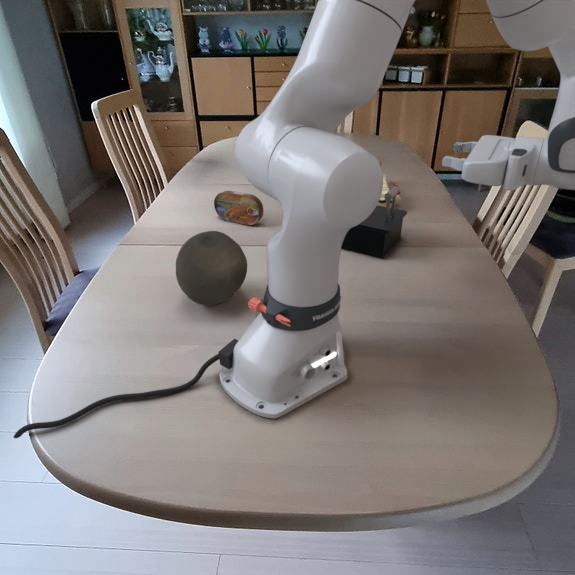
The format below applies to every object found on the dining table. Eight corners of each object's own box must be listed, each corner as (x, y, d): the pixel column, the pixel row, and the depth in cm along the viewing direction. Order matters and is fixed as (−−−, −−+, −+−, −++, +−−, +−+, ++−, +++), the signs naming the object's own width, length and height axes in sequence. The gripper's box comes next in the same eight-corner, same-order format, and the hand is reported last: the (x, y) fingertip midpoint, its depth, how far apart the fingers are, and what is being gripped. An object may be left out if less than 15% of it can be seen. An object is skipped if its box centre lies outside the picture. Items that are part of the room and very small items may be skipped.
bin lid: (406, 213, 111) (411, 182, 107) (388, 233, 103) (392, 200, 98) (346, 201, 119) (348, 172, 114) (324, 219, 110) (325, 188, 105)
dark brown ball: (184, 326, 87) (171, 259, 79) (179, 288, 98) (167, 225, 90) (255, 313, 90) (250, 247, 82) (242, 277, 101) (236, 216, 93)
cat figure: (362, 186, 150) (368, 210, 128) (364, 159, 146) (370, 180, 124) (392, 186, 149) (403, 211, 127) (395, 159, 145) (407, 180, 123)
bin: (400, 237, 116) (403, 213, 112) (382, 259, 107) (385, 233, 103) (345, 225, 123) (346, 202, 119) (324, 244, 114) (324, 219, 110)
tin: (215, 218, 128) (211, 190, 124) (221, 214, 131) (218, 186, 126) (260, 228, 122) (258, 199, 118) (265, 223, 125) (264, 195, 120)
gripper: (530, 130, 93) (461, 125, 99) (518, 160, 78) (438, 152, 84) (523, 160, 96) (457, 154, 102) (510, 194, 82) (434, 184, 88)
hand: (448, 153), depth 93 cm, fingers open, 8 cm apart
